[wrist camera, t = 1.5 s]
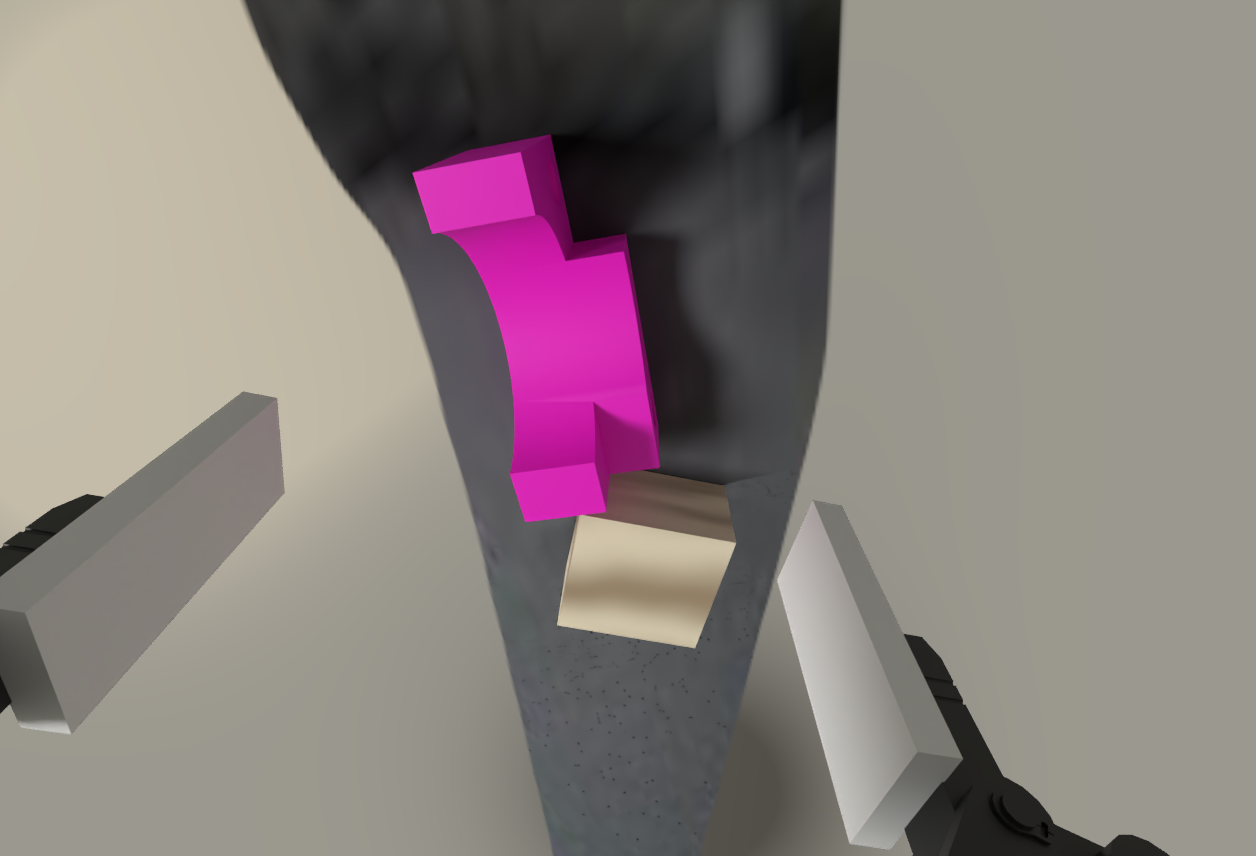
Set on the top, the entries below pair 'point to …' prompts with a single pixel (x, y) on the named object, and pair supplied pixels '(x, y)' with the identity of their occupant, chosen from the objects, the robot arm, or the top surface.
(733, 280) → the top surface
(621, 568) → the riser
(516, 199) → the toy block
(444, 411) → the top surface
